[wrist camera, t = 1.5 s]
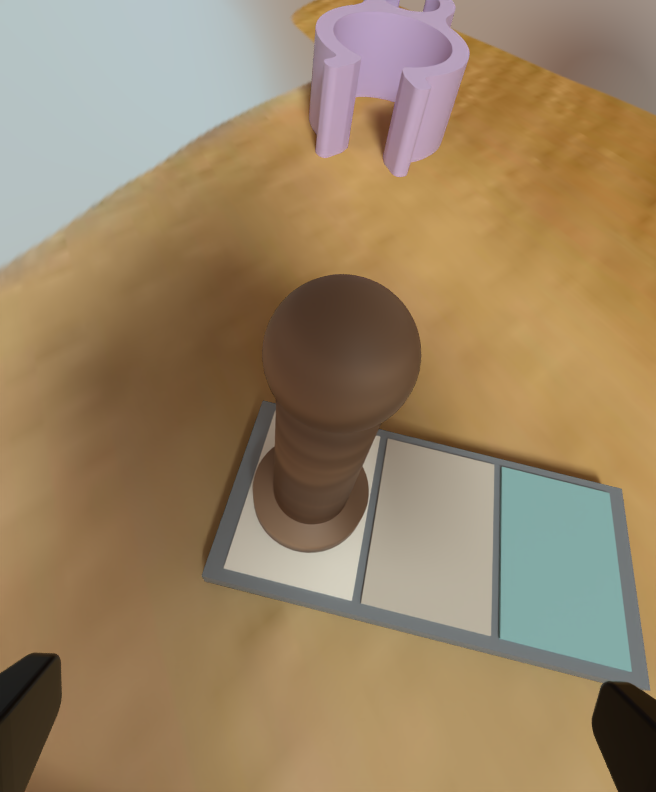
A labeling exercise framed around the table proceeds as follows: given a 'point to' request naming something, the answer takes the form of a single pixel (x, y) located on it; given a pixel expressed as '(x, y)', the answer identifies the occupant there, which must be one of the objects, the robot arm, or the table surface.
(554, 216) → the table surface
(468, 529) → the board
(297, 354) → the pawn
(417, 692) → the table surface
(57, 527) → the table surface
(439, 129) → the clip
